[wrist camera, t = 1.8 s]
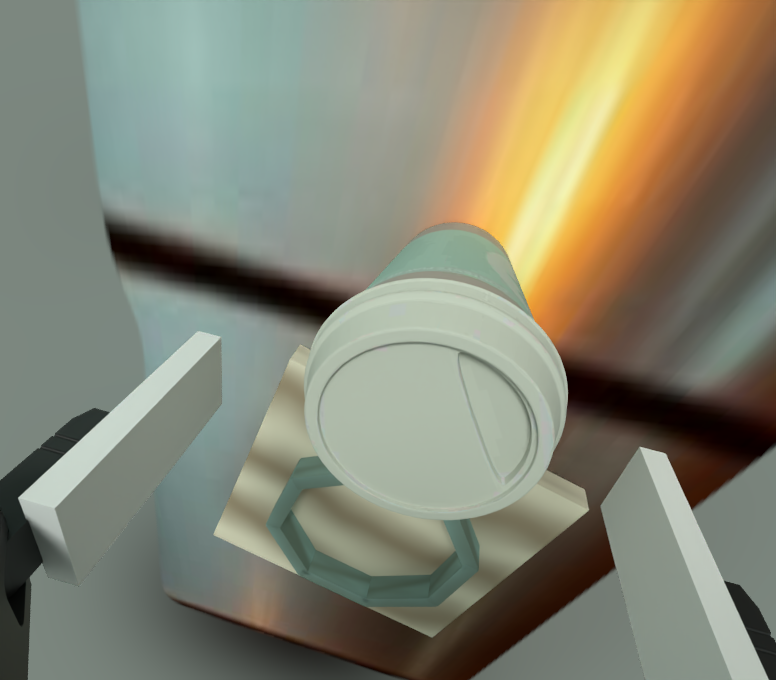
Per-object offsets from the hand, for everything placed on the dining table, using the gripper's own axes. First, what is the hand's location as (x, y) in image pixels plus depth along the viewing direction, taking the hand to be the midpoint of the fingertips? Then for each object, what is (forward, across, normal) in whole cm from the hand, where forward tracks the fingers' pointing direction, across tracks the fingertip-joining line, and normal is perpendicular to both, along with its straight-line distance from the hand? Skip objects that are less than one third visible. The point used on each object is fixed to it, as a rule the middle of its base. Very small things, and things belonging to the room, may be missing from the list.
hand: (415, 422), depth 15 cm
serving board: (+11, 0, -18) cm, 22 cm away
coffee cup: (+11, 0, 0) cm, 11 cm away
